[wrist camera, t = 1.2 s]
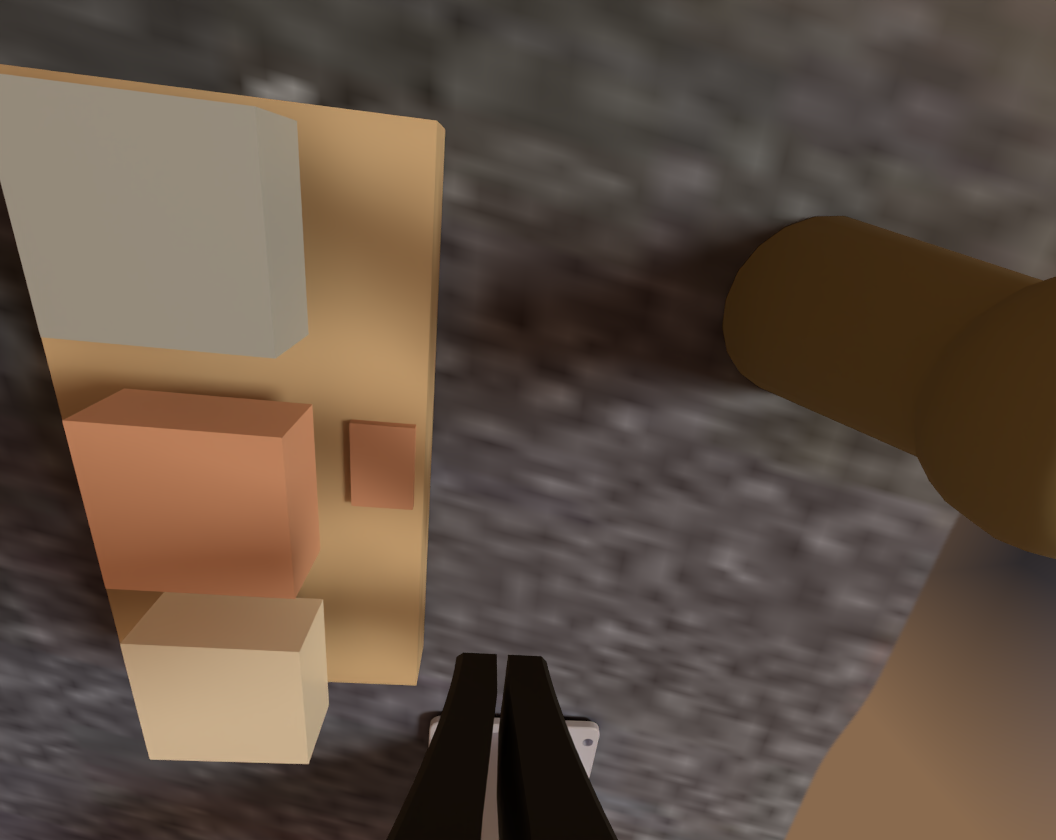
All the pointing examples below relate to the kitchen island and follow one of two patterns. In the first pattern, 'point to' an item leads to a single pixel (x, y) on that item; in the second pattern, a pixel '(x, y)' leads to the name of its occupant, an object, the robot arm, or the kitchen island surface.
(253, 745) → the button cream
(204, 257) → the button slate
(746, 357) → the butternut squash
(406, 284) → the button board
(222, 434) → the button terracotta
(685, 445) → the kitchen island surface
